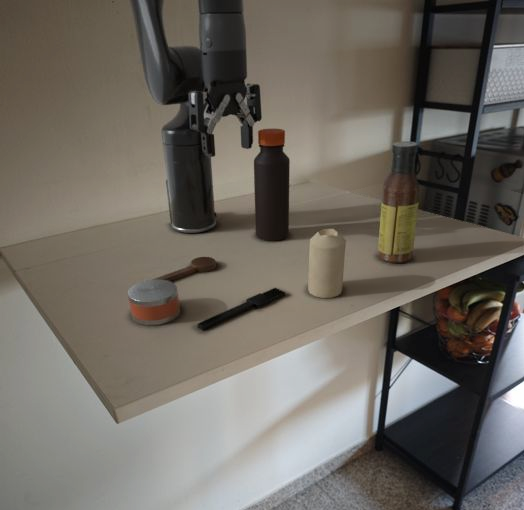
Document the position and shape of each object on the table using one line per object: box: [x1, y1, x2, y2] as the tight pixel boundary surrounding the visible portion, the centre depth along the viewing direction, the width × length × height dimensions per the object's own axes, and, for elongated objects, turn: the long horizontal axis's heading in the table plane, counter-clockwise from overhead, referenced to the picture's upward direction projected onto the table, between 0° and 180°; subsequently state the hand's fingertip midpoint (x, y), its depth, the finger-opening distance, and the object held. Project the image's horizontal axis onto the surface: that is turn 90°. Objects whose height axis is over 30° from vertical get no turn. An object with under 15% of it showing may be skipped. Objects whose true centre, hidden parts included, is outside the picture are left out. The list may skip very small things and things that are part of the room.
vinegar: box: [253, 128, 291, 242], centre depth 97 cm, size 7×7×20 cm
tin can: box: [127, 279, 181, 326], centre depth 75 cm, size 7×7×4 cm
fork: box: [196, 287, 286, 332], centre depth 76 cm, size 16×3×1 cm, turn 133°
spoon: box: [151, 256, 217, 282], centre depth 86 cm, size 16×4×1 cm, turn 133°
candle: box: [307, 228, 347, 299], centre depth 78 cm, size 6×6×10 cm
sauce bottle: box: [377, 140, 420, 264], centre depth 86 cm, size 6×6×20 cm
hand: (228, 152), depth 90 cm, fingers open, 8 cm apart
